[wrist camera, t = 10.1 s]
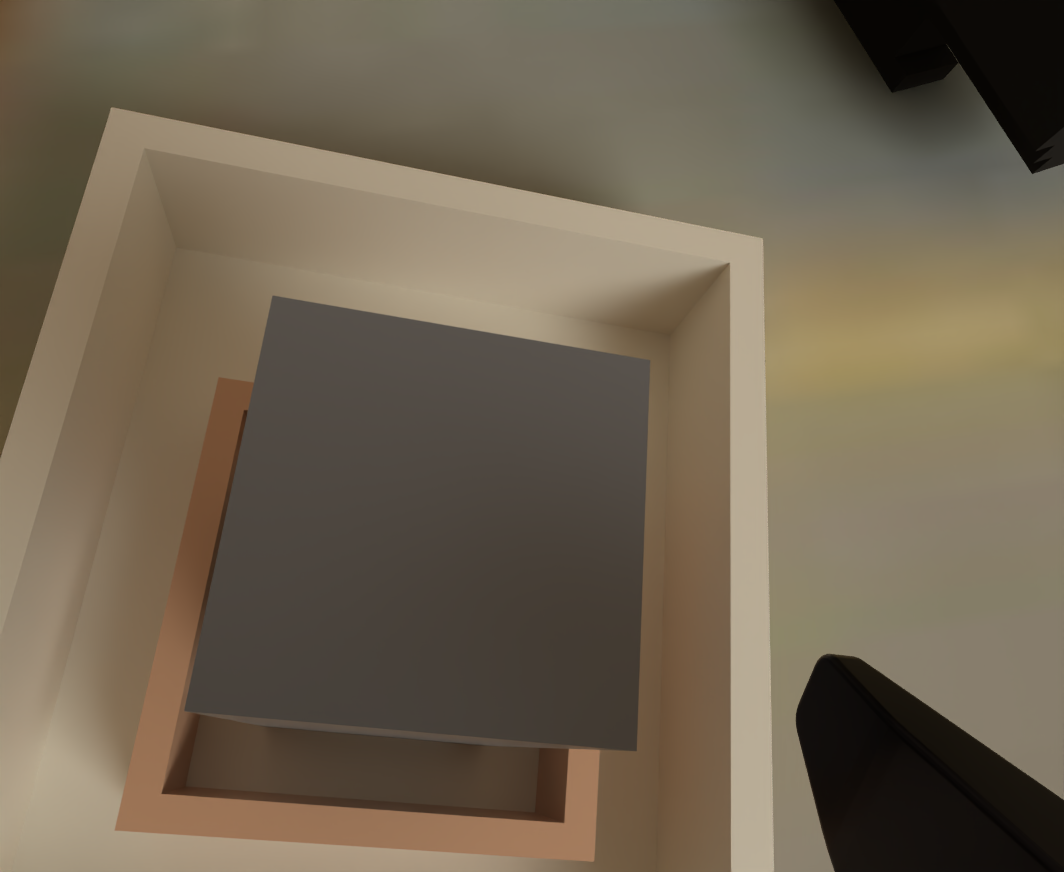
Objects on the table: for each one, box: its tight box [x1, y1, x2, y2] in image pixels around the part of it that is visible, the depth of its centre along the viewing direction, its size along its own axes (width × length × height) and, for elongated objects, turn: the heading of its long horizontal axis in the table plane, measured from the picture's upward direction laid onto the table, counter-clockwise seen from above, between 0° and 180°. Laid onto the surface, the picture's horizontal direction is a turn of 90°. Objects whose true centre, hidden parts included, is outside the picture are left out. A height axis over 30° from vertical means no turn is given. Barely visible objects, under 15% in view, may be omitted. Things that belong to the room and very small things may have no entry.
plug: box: [184, 296, 650, 751], centre depth 14 cm, size 4×4×10 cm
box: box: [0, 107, 774, 872], centre depth 17 cm, size 18×14×4 cm
